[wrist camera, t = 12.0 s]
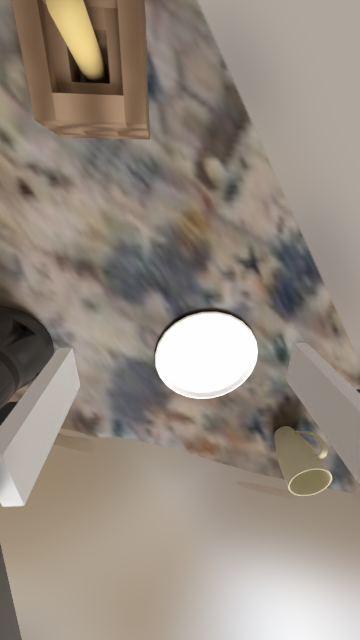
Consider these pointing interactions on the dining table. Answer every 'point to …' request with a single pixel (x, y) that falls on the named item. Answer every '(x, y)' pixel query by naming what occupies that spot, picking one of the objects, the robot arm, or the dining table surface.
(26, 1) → the bore block
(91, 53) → the pin
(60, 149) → the dining table surface
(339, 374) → the robot arm
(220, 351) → the plate
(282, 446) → the mug
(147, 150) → the dining table surface
